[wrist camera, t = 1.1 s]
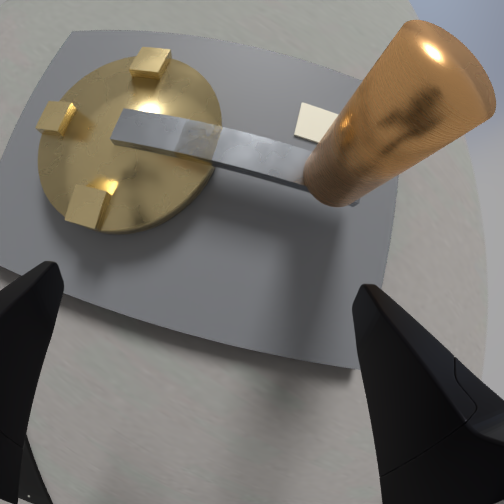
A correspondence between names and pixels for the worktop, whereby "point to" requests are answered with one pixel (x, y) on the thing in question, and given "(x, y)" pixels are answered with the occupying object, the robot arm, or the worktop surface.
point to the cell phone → (31, 479)
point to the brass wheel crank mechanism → (245, 144)
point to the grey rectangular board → (213, 213)
